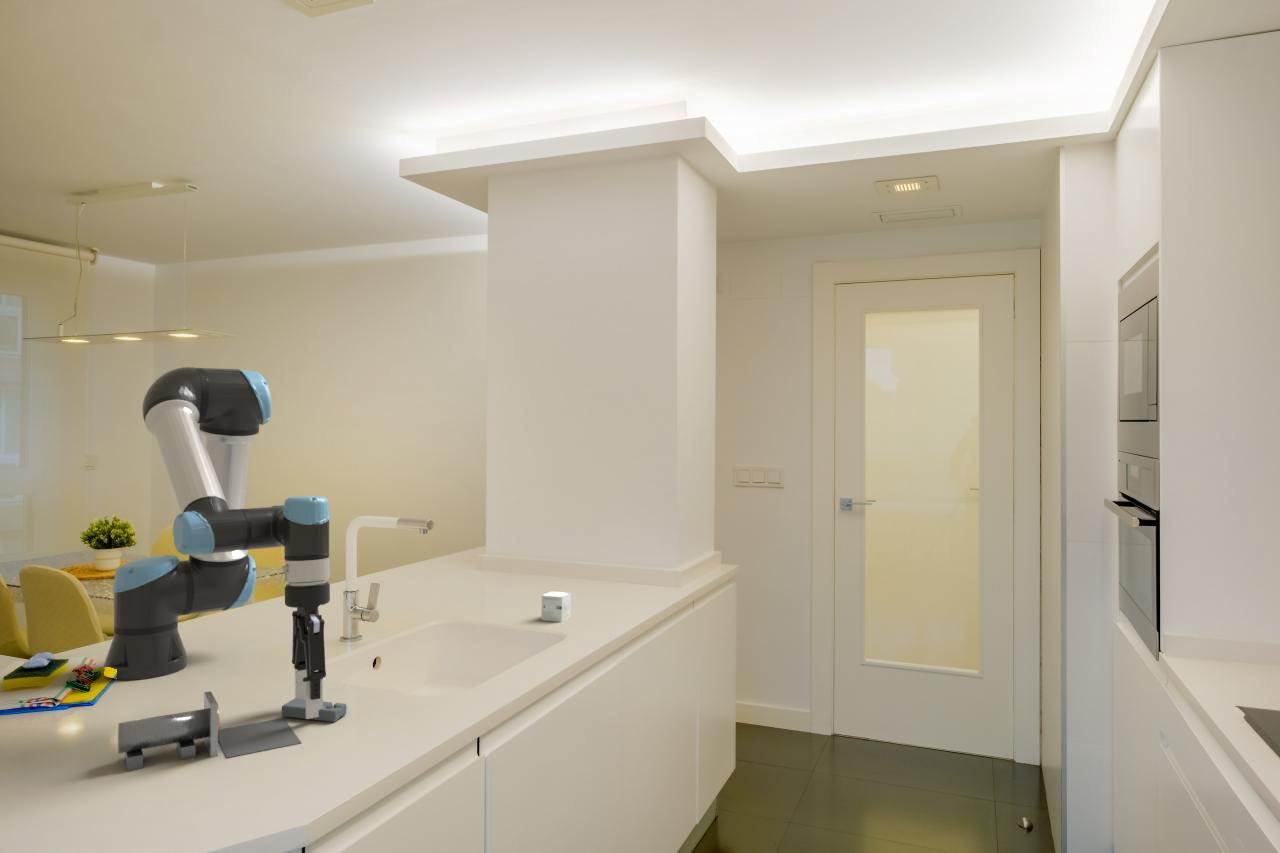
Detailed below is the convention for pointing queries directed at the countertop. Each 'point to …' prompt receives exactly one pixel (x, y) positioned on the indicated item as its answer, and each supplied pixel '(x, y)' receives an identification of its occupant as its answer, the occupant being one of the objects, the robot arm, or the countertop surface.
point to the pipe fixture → (171, 733)
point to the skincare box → (556, 606)
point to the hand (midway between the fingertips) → (308, 711)
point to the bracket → (326, 714)
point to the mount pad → (256, 737)
